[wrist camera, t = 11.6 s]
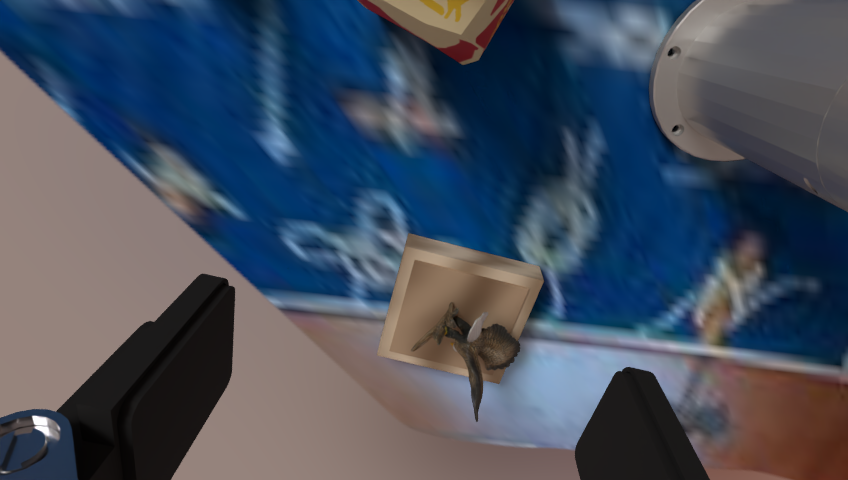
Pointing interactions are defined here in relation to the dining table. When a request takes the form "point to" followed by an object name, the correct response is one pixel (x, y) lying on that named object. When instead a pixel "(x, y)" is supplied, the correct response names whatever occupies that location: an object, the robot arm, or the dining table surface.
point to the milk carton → (446, 22)
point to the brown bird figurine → (475, 347)
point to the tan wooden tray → (454, 301)
